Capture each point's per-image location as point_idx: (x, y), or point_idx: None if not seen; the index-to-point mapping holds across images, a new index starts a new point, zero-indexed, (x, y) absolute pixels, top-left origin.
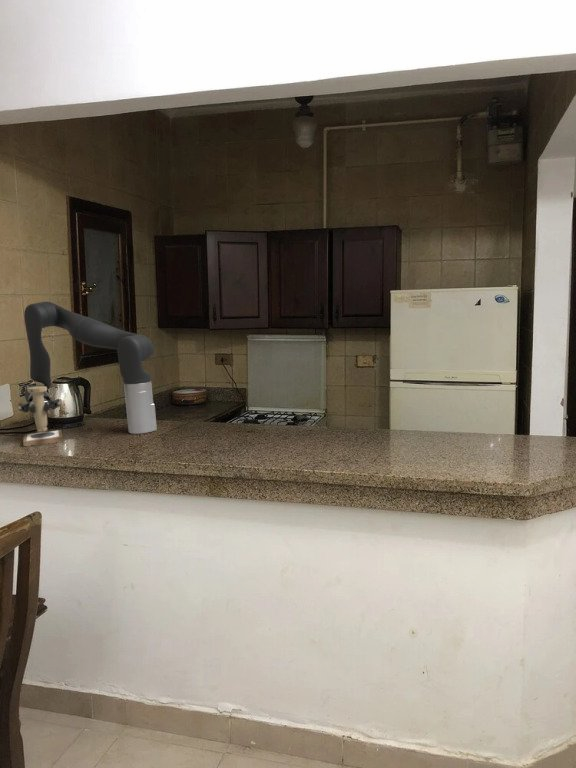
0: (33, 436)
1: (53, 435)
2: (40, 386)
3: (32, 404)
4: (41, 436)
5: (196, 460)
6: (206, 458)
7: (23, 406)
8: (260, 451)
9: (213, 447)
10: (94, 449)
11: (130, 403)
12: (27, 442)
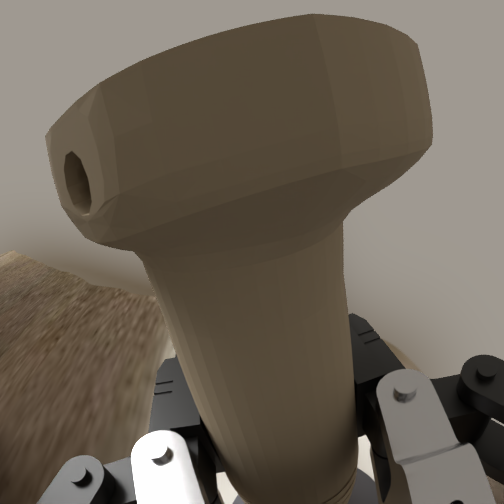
0: (362, 492)
1: (231, 490)
2: (110, 96)
3: (389, 398)
4: None
5: (56, 276)
6: (45, 279)
7: (501, 375)
8: (5, 289)
9: (8, 306)
10: (121, 339)
11: None
12: None
